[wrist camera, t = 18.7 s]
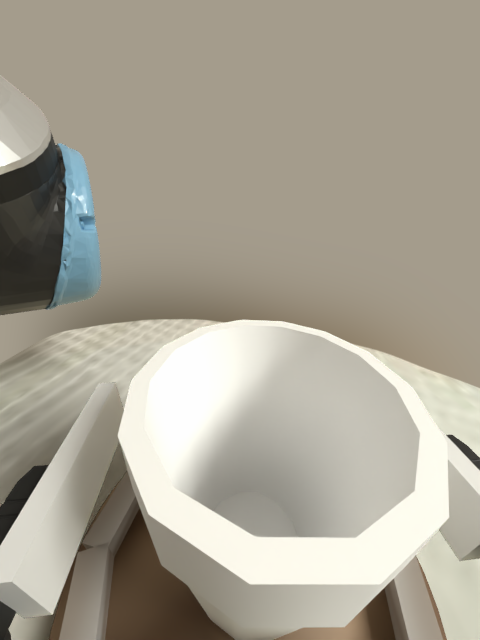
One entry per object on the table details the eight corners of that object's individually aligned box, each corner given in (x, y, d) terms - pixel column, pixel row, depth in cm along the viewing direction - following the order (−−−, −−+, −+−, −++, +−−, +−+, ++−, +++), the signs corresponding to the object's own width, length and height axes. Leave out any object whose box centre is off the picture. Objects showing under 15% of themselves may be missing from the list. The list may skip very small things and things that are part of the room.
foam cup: (202, 458, 19) (196, 309, 13) (323, 487, 17) (379, 334, 11) (128, 661, 10) (13, 505, 5) (348, 754, 9) (611, 703, 3)
